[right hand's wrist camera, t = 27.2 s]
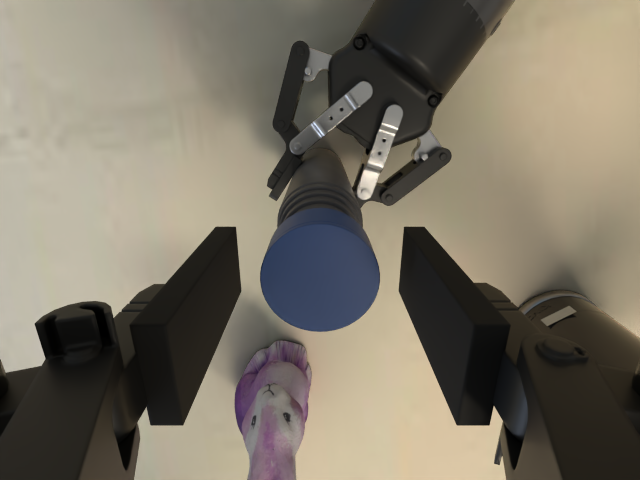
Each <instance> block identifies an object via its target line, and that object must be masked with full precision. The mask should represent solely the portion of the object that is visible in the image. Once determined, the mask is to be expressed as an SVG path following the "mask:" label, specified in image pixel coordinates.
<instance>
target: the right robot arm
mask: <svg viewBox="0 0 640 480" xmlns="http://www.w3.org/2000/svg"><path fill="white" fill-rule="evenodd" d="M240 293H241V282H240V270H239V258H238V246H237V234H236V227H215V228H214V230H213V231H212V232H211V233H210V234H209V235H208V236H207V237H206V239H205V240H204V241H203V242H202V243H201V244H200V245H199V246H198V248H197V249H196V250H195V251H194V252H193V253H192V254H191V256H190V257H189V258H188V259H187V260H186V261H185V262H184V263H183V265H182V266H181V267H180V268H179V269H178V270H177V271H176V273H175V274H174V275H173V276H172V277H171V278H170V279H169V280H168V282H167V283H166V284H153V285H152V286H150V287H148V288H146V289H144V290H143V291H141V292H139V293H138V294H137V295H136V296H135V297H134V298H133V299H132V300H131V301H130V304H127V305H126V306H125V307H124V308H123V309H122V312H119V313H118V314H117V315H116V316H115V317H114V318H113V314H112V310H111V306H109V305H108V304H106V303H104V302H98V301H90V302H80V303H75V304H71V305H67V306H64V307H62V308H59V309H56V310H54V311H52V312H50V313H48V314H46V315H44V316H43V317H41V318H40V319H39V320H38V321H37V322H36V323H35V326H36V330H37V333H38V336H39V339H40V342H41V345H42V348H43V352H44V355H45V358H46V359H45V361H44V363H43V364H42V366H39V367H34V368H29V369H24V370H18V371H13V372H8V373H5V370H4V368H3V365H2V362H1V360H0V480H134V475H135V469H136V462H137V456H138V449H139V443H140V433H139V428H138V423H137V422H138V420H139V418H140V417H141V415H142V413H143V412H144V410H145V408H146V406H147V411H148V416H149V420H150V425H183V424H184V422H185V420H186V418H187V415H188V413H189V411H190V408H191V406H192V404H193V401H194V399H195V397H196V394H197V392H198V390H199V387H200V385H201V383H202V381H203V378H204V376H205V374H206V371H207V369H208V367H209V364H210V362H211V360H212V357H213V355H214V353H215V351H216V348H217V346H218V344H219V341H220V339H221V337H222V334H223V332H224V330H225V327H226V325H227V323H228V320H229V318H230V316H231V314H232V311H233V309H234V307H235V304H236V302H237V300H238V297H239V295H240ZM399 293H400V295H401V297H402V300H403V302H404V304H405V307H406V309H407V311H408V314H409V316H410V318H411V320H412V323H413V325H414V327H415V330H416V332H417V334H418V337H419V339H420V341H421V344H422V346H423V348H424V351H425V353H426V355H427V357H428V360H429V362H430V364H431V367H432V369H433V371H434V374H435V376H436V378H437V381H438V383H439V385H440V387H441V390H442V392H443V394H444V397H445V399H446V401H447V404H448V406H449V408H450V411H451V413H452V415H453V418H454V420H455V422H456V424H457V425H490V420H491V416H492V411H493V406H495V408H496V410H497V411H498V413H499V415H500V416H501V418H502V420H503V423H502V428H501V432H500V436H499V441H498V445H497V450H496V454H495V461H494V464H498V465H500V461H501V457H502V456H503V461H504V468H505V474H506V480H640V360H639V362H638V365H637V368H636V370H635V371H631V370H626V369H620V368H615V367H610V366H605V365H600V364H597V362H596V360H595V359H594V357H593V356H592V355H591V354H590V353H589V352H588V351H587V350H586V349H584V348H583V347H581V346H580V345H578V344H577V343H575V342H572V341H570V340H568V339H565V338H563V337H559V336H555V335H551V334H543V333H542V332H541V331H540V330H539V329H538V328H537V327H536V326H535V325H534V324H533V323H532V322H531V321H530V320H529V319H528V318H527V317H526V316H525V315H524V314H523V313H522V312H521V311H519V309H518V308H517V307H516V306H515V305H514V304H513V303H511V301H510V300H509V299H508V298H507V297H506V296H505V295H504V294H503V293H502V291H500V290H498V289H496V288H495V287H493V286H491V285H489V284H487V283H473V282H472V280H471V279H470V278H469V277H468V276H467V275H466V274H465V273H464V271H463V270H462V269H461V268H460V267H459V266H458V265H457V263H456V262H455V261H454V260H453V259H452V258H451V257H450V256H449V254H448V253H447V252H446V251H445V250H444V249H443V248H442V246H441V245H440V244H439V243H438V242H437V241H436V240H435V239H434V237H433V236H432V235H431V234H430V233H429V232H428V231H427V230H426V228H425V227H404V234H403V246H402V258H401V270H400V282H399Z"/></svg>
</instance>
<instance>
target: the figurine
mask: <svg viewBox="0 0 640 480" xmlns="http://www.w3.org/2000/svg"><path fill="white" fill-rule="evenodd" d="M311 375H312V373H311V369H310V366H309V364H308V363H307V353H306V350H305V348H304V347H303V346H302V345H299V344H297V343H296V344H295V343H292V342H288V341H282V340H281V341H275V342H274V343H273V344H272V345H271V346H270V347H269V348H266V349H261V350H259V351H257V352H256V354H255V355H254V356H253V358H252V359H251V361H250V362H249V363H248V365H247V367H246V369H245V371H244V373H243V376H242V378H241V380H240V381H239V383H238V385H237V388H236V392H235V413H236V419H237V424H238V427H239V429H240V432H241V433H242V435H243V439H244V442H245V446H246V448H247V451H248V453H249V459H250V469H249V474H248V479H247V480H296V469H295V455H296V453H297V451H298V449H299V446H300V444H301V441H302V439H303V435H304V429H305V422H306V420H307V416H308V403H307V401H308V396H309V389H310V385H311Z"/></svg>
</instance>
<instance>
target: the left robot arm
mask: <svg viewBox="0 0 640 480" xmlns="http://www.w3.org/2000/svg"><path fill="white" fill-rule="evenodd" d="M514 1H515V0H376V1H375V2H374V4H373V5H372V7H371V9H370V10H369V12H368V14H367V15H366V17H365V18H364V20H363V22H362V23H361V25H360V26H359V28H358V30H357V31H356V33H355V34H354V36H353V38H352V39H351V41H350V42H349V43H348V44H347V45H346V46H345V47H344V48H342V49H340V50H338V51H337V52H335V53H334V54H333V56H332V55H330V54H327V53H324V52H321V51H318V50H315V49H312V48H310V47H308V45H307V44H306V43H305V42H303V41H297V42H295V43H294V44H293V46H292V48H291V52H290V56H289V60H288V64H287V68H286V72H285V76H284V80H283V84H282V88H281V92H280V96H279V100H278V104H277V107H276V111H275V115H274V119H273V127H274V129H275V130H276V131H277V132H279V134H280V135H281V136H282V138H283V139H284V141H285V143H286V151H285V153H284V155H283V156H282V158H281V160H280V161H279V163H278V164H277V166H276V168H275V169H274V171H273V172H272V174H271V176H270V177H269V179H268V184H267V186H268V187H269V188H271V189H272V191H271V193H270V195H269V197H271V198H272V199H274V200H276V201H277V199H278V198H279V196H280V195H281V193H282V192H283V190H284V189H285V187H286V186H287V184H288V183H289V181H290V179H291V178H292V176H293V175H294V173H295V171H296V170H297V169H298V167H299V166H300V164H301V162H302V161H303V158H304V157H302V156H303V154H304V153H305V151H306V150H307V149H309V148H310V147H311V146H312V145H313V144H315V143H316V142H317V141H318V140H319V139H321V138H322V137H323V136H325V135H326V134H327V133H328V132H330V131H331V130H332V129H333V128H334V127H337V128H339V129H340V130H341V131H343V132H345V133H347V134H350V135H353V136H354V137H355V138H356V140H357V141H358V142H359V143H360V144H361V145H362V146H364V147H365V150H364V153H363V156H362V160H361V165H360V168H359V171H358V174H357V177H356V180H355V183H354V186H353V187H352V190H353V192H354V195H355V197H356V199H357V202H358V204H359V207H360V208H361V207H362V206H363V204H364V203H366V202H368V201H376V202H380V203H383V204H385V205H387V206H390V205H393V204H394V203H396V202H397V201H398V200H400V199H401V198H402V197H404V196H405V195H406V194H408V193H409V192H410V191H412V190H413V189H414V188H416V187H417V186H418V185H420V184H421V183H422V182H423V181H425V180H426V179H427V178H429V177H430V176H431V175H433V174H434V173H435V172H437V171H438V170H439V169H441V168H442V167H443V166H445V165H446V164H447V163H448V162H449V161H450V160H451V152H450V151H449V150H448V149H446V148H443V147H441V145H440V144H439V142H438V141H437V139H436V138H435V136H434V135H433V134H432V132H431V131H430V127H431V125H432V119H433V115H434V112H435V110H436V108H437V106H438V105H439V104H440V102H441V101H442V100H443V98H444V97H445V96H446V94H447V93H448V92H449V90H450V89H451V88H452V86H453V85H454V83H455V82H456V81H457V79H458V78H459V77H460V75H461V74H462V73H463V71H464V70H465V68H466V67H467V66H468V64H469V63H470V62H471V60H472V59H473V58H474V56H475V55H476V53H477V52H478V51H479V49H480V48H481V47H482V45H483V44H484V43H485V41H486V40H487V39H488V38H489V37H490V36H492V34H493V33H494V32H495V31H496V29H497V28H498V26H499V25H500V22H501V20H502V18H503V17H504V15H505V14H506V13H507V11H508V10H509V9H510V7H511V6H512V4H513V3H514ZM323 70H327V71H328V96H329V108H328V109H327V110H326V111H324V112H323V113H322V114H321V115H320V116H319V117H317V118H316V119H315V120H314V121H313V122H312V123H310V124H309V125H308V126H307V127H306V128H305V129H303V130H302V131H301V132H300V130H299V129H298V127H297V126H296V125H295V123H294V122H293V120H294V116H295V113H296V109H297V105H298V102H299V98H300V94H301V91H302V87H303V83H304V81H305V82H312V81H314V80H315V78H316V76H317V74H318V73H319V72H320V71H323ZM329 118H331V119H329ZM416 138H417V141H418V142H417V146H416V147H415V148H414V149H413V151H412V153H411V157H412V159H413V160H411V161H410V162H409V163H407V164H406V165H405V166H404V167H402V168H401V169H400V170H399V171H397V172H396V173H395V174H393V175H392V176H391V177H390V178H388V179H387V180H386V181H384V182H383V183H382V184H381V183H377V180H378V177H379V174H380V172H381V171H382V170H383V167H384V165H385V162H386V159H387V156H388V153H389V151H390V148H391V147H394V146H397V145H399V144H402V143H405V142H408V141H410V140H413V139H416ZM519 311H521V312H522V313H523V314H524V315H525V316H526V317H527V318H528V319H529V320H530V321H531V322H532V323H533V324H534V325H535V326H536V327H537V328H538V329H539V330H540V331H541V332H542V333H543V334H551V335H555V336H559V337H563V338H565V339H568V340H570V341H572V342H575V343H577V344H578V345H580V346H581V347H583V348H584V349H586V350H587V351H588V352H589V353H590V354H591V355H592V356H593V357H594V359H595V360H596V362H597V364H600V365H605V366H610V367H615V368H620V369H626V370H631V371H635V370H636V368H637V365H638V362H639V360H640V338H639V337H638V336H636V335H635V334H634V333H632V332H631V331H629V330H628V329H627V328H625V327H624V326H622V325H621V324H620V323H618V322H617V321H615V320H614V319H613V318H612V317H610V316H609V315H607V314H606V313H604V312H603V311H602V310H600V309H599V308H597V306H596V305H595V304H593V303H592V302H591V301H590V300H588V299H587V298H585V297H584V296H582V295H580V294H578V293H575V292H572V291H565V290H558V291H551V292H547V293H543V294H541V295H538V296H536V297H534V298H533V299H531V300H529V301H528V302H526V303H525V304H524V305H523V306H522V307H521V308H520V309H519Z"/></svg>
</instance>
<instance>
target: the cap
mask: <svg viewBox="0 0 640 480" xmlns="http://www.w3.org/2000/svg"><path fill="white" fill-rule="evenodd" d="M260 282H261V288H262V292H263V295H264V297H265V300H266V301H267V303H268V305H269V306H270V308H271V309H272V310H273V311H274V313H276V314H277V315H278V316H279V317H280V318H281V319H282V320H284V321H285V322H287V323H289V324H290V325H293V326H295V327H297V328H300V329H304V330H308V331H317V332H322V331H332V330H336V329H340V328H343V327H345V326H348V325H350V324H351V323H353V322H355V321H356V320H358V319H359V318H360V317H361V316H363V315H364V314H365V313H366V311H367V310H368V309H369V308H370V306H371V305H372V303H373V302H374V300H375V298H376V295H377V292H378V289H379V283H380V272H379V266H378V263H377V259H376V257H375V254H374V251H373V249H372V246H371V243H370V241H369V238H368V236H367V234H366V233H365V231H364V229H363V228H362V227H361V226H360V225H359V223H357V222H356V221H355V220H354V219H353V218H351V217H350V216H348V215H346V214H344V213H342V212H340V211H337V210H333V209H328V208H312V209H306V210H303V211H300V212H298V213H296V214H294V215H292V216H290V217H289V218H287V219H286V220H285V221H284V222H283V223H282V224H281V225H280V226H279V227H278V228H277V230H276V231H275V233H274V235H273V237H272V239H271V241H270V244H269V246H268V249H267V252H266V254H265V257H264V260H263V263H262V266H261V272H260Z"/></svg>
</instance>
